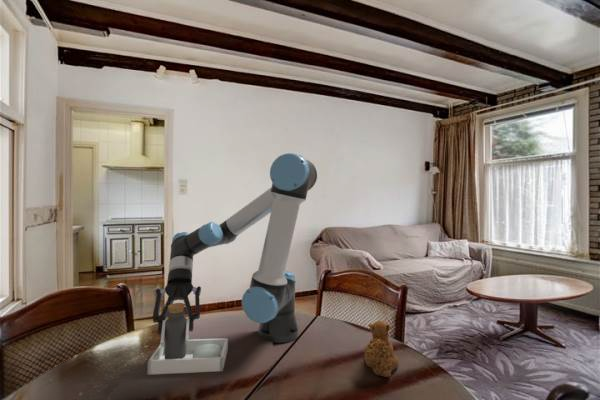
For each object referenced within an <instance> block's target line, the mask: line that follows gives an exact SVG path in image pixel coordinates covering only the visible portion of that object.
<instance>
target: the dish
mask: <svg viewBox="0 0 600 400" xmlns="http://www.w3.org/2000/svg"><path fill="white" fill-rule="evenodd" d="M208 357H221V347H220V346H218V345H216V344H203V345H200V346H197V347H196V348H194V350H193V358H208Z"/></svg>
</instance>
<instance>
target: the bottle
mask: <svg viewBox="0 0 600 400" xmlns="http://www.w3.org/2000/svg"><path fill="white" fill-rule="evenodd" d="M185 308H186V307H185V303H184V302H177V303H176V302H175V303H174V302H173V304H170V305H169V306H168V310H169V311H168V312H167V317H168V318H166V319H165V320H166V324H165V359H182V358H184V357H185V356H186V342H185V339H186V322H187V317H185V315H186V314H187V310H186V309H185Z"/></svg>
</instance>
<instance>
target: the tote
mask: <svg viewBox="0 0 600 400" xmlns="http://www.w3.org/2000/svg"><path fill="white" fill-rule="evenodd" d="M203 344H216V345H218V346H220V347H221V357H208V358H193V350H194V348H196V347H197V346H200V345H203ZM228 348H229V337H227V338H226V337H225V338H223V337H222V338H221V337H220V338H203V339H202V338H198V339H189V343H188V344H186V356H185V357H184V358H182V359H165V342H164V347H161V344H159V345H158V347H157V348H156V350H155V351H154V352H153V354H151V356H150V358H149V359H148V360H147V373H146V374H147V376H148V375H149V376H150V375H151V376H152V375H167V374H168V375H169V374H190V373H191V374H193V373H208V372H209V373H210V372H211V373H212V372H224V368H225V363H226V358H227V355H228V352H229V351H228V350H229V349H228Z"/></svg>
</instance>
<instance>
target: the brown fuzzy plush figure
mask: <svg viewBox="0 0 600 400" xmlns="http://www.w3.org/2000/svg"><path fill="white" fill-rule="evenodd" d="M367 326H368V327H369V329H368V330H369V331H370V332H371V337H372V338H371V339H370V340H369V343H367V345H366V346H365V347H364V348H363V352H364V354H363V356H364V360H365V364H366V366H367V367H368V368H370V369H372V372H373V373H374V374H375V375H377V376H378V375H379V376H381V377H383V376H384V377H383V378H389V377H390V376H392V374H391V373H392V371H394V370H396V368H397V369H398V368H399V364H400V363H399V362H400V361H399V358H398V357H397V355H396V353H395V352H394V346H393V343H392V342H391V340H390V338H389V337H390V335H389V334H390V333H389V331H390V329H391V328H392V325H391V324H389V323H386V322H385V321H383V320H377V321H375V322H373V324H372V323H368V325H367ZM388 376H389V377H388Z"/></svg>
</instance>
